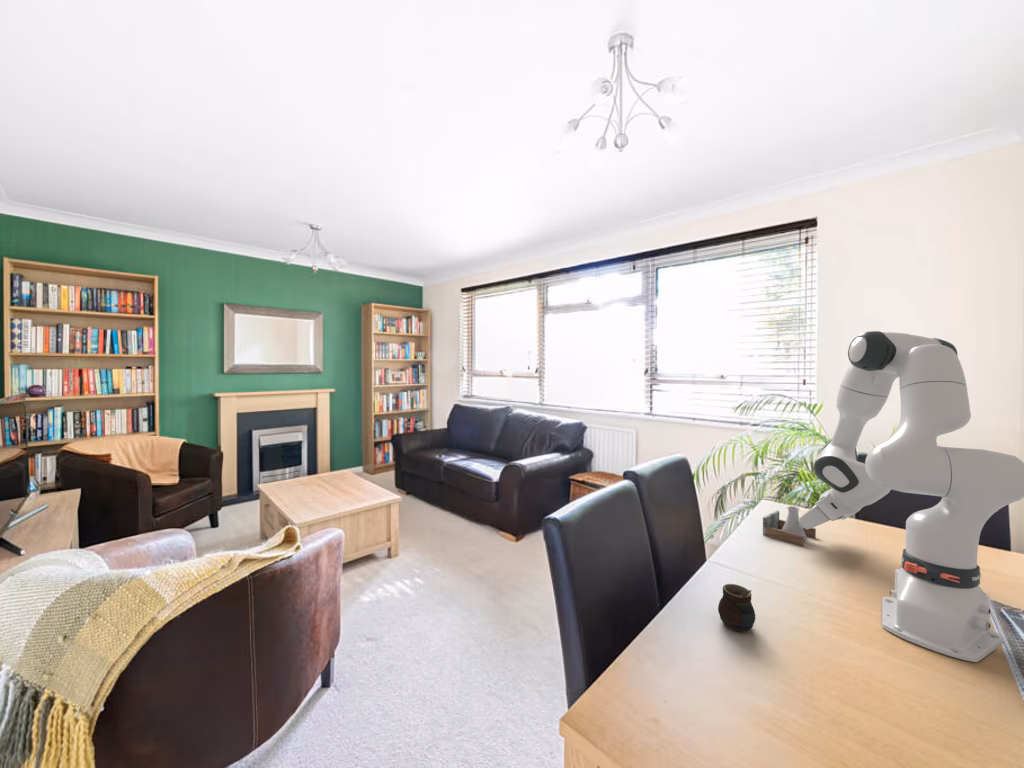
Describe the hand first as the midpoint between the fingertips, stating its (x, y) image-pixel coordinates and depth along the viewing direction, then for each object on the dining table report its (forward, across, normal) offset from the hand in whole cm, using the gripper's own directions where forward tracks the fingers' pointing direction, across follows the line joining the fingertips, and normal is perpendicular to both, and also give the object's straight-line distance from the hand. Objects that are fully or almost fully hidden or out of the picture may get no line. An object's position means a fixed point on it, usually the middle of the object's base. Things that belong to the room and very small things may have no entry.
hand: (800, 525), depth 137 cm
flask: (+5, 0, +2) cm, 5 cm away
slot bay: (+6, 0, +1) cm, 6 cm away
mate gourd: (-4, +66, +10) cm, 67 cm away
